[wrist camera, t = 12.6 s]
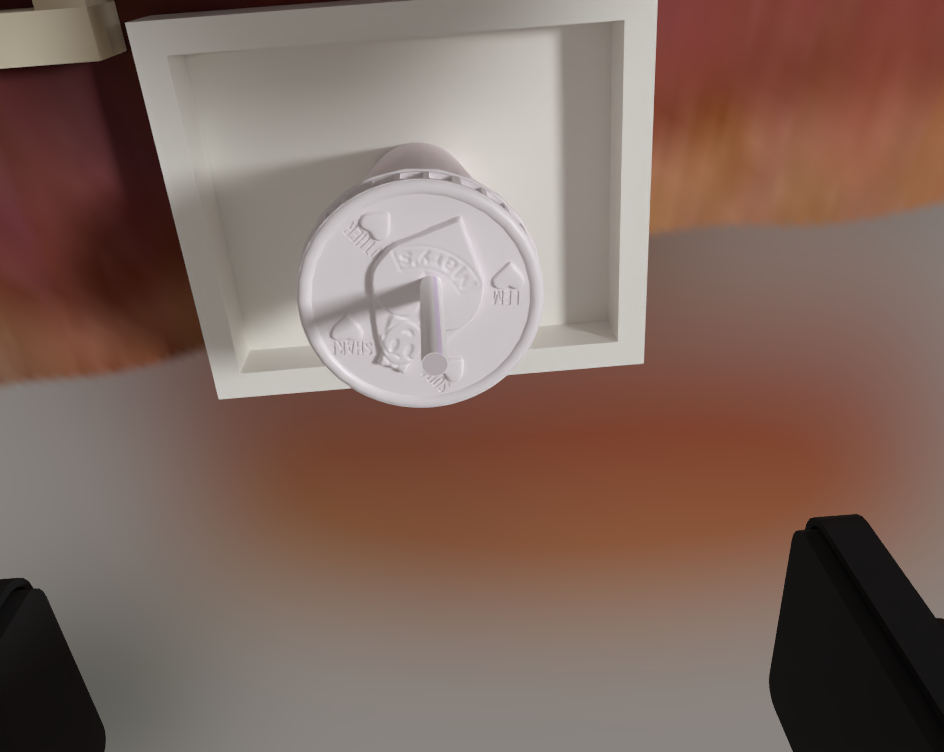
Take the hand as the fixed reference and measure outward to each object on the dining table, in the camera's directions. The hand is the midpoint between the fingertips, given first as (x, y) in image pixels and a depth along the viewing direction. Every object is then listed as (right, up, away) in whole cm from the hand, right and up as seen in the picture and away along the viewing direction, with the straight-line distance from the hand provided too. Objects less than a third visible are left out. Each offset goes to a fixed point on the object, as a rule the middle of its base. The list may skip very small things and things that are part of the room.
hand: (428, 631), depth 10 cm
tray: (-2, +10, +19) cm, 22 cm away
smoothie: (-1, +10, +19) cm, 21 cm away
